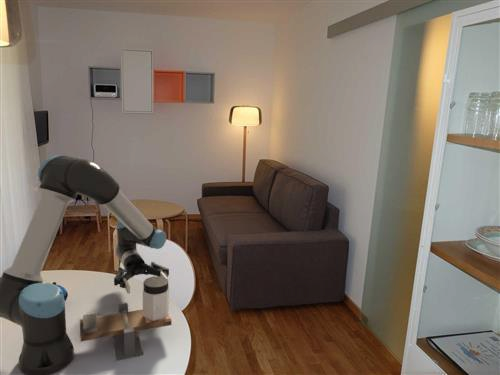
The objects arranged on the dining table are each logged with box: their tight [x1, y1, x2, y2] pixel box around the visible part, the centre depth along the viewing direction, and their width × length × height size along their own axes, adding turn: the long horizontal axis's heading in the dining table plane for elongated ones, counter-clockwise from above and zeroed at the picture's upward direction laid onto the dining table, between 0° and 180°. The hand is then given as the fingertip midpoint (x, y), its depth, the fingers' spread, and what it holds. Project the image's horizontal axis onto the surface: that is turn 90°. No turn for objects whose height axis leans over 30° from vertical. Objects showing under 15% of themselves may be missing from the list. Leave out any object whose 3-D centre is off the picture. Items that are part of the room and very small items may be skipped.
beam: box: [79, 308, 172, 342], centre depth 134 cm, size 28×13×4 cm, turn 113°
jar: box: [142, 275, 170, 321], centre depth 137 cm, size 9×8×12 cm
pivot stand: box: [112, 302, 144, 361], centre depth 135 cm, size 8×18×9 cm, turn 23°
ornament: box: [52, 281, 69, 302], centre depth 153 cm, size 9×9×10 cm
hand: (148, 286), depth 143 cm, fingers open, 13 cm apart
